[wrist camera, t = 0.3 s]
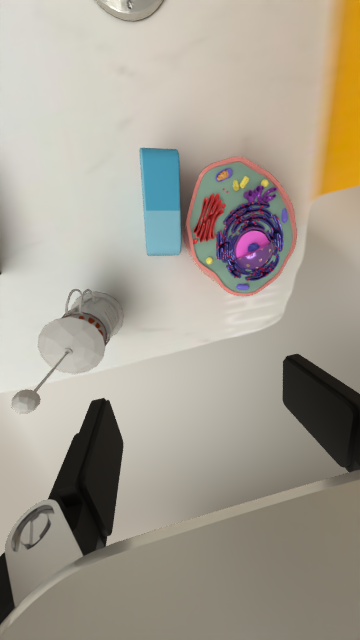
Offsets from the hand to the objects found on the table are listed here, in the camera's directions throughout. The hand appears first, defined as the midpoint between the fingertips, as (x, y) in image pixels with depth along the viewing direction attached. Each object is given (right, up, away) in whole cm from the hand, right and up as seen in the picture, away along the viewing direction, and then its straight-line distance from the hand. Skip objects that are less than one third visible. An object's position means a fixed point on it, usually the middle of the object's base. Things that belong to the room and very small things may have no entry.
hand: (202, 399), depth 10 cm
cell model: (+7, +20, +28) cm, 35 cm away
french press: (-17, +6, +28) cm, 34 cm away
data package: (-5, +22, +25) cm, 34 cm away
